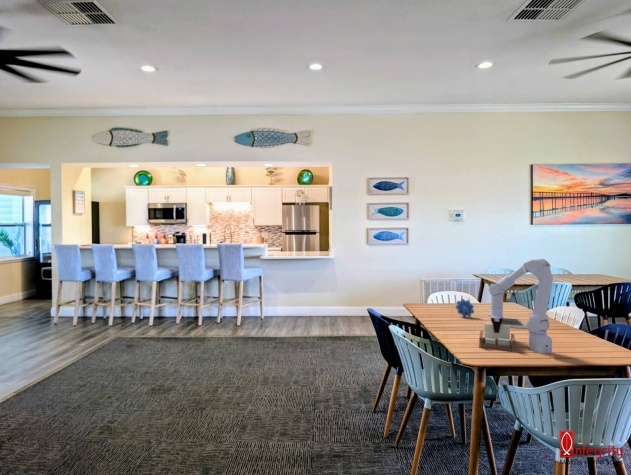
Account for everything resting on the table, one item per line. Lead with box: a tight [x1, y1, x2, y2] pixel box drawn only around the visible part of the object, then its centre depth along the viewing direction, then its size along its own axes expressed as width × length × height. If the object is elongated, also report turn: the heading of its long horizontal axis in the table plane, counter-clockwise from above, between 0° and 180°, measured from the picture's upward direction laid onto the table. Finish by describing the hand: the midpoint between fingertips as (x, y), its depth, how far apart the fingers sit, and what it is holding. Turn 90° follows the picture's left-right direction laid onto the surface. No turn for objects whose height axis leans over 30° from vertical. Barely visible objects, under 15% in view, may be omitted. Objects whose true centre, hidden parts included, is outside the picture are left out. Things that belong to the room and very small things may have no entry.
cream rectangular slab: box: [483, 322, 511, 340], centre depth 209 cm, size 2×12×8 cm, turn 66°
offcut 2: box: [498, 338, 511, 346], centre depth 192 cm, size 2×5×4 cm, turn 66°
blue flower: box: [455, 298, 475, 318], centre depth 263 cm, size 12×7×12 cm, turn 78°
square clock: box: [491, 317, 528, 330], centre depth 245 cm, size 16×3×21 cm
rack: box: [478, 330, 516, 353], centre depth 201 cm, size 24×16×6 cm, turn 156°
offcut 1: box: [485, 338, 495, 344], centre depth 194 cm, size 2×4×4 cm, turn 66°
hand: (496, 332), depth 209 cm, fingers closed on cream rectangular slab, 2 cm apart
